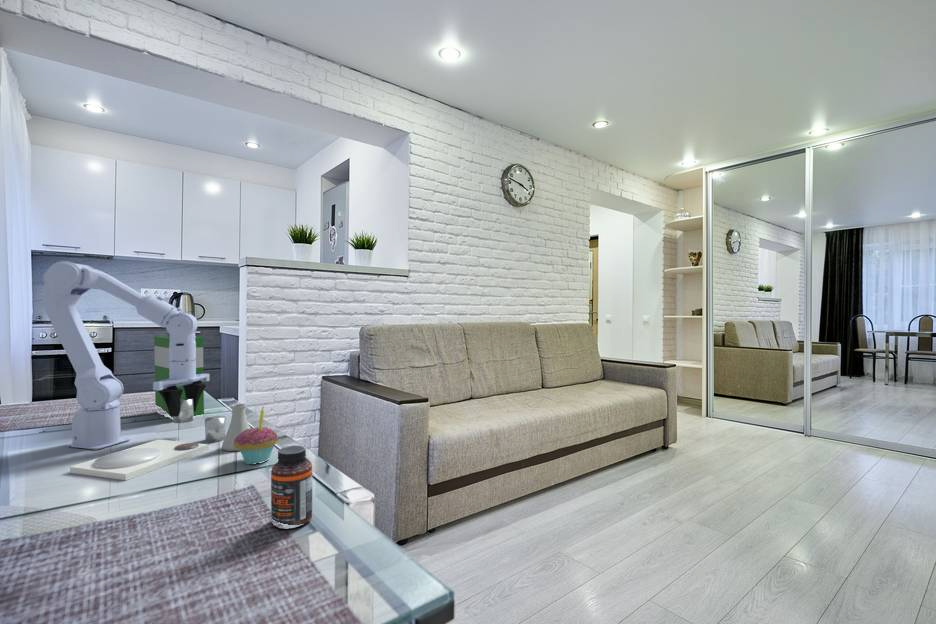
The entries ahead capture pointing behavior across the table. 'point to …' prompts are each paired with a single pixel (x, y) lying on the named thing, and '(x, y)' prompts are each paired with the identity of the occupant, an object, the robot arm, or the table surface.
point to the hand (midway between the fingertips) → (183, 413)
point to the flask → (235, 426)
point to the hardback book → (163, 369)
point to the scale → (138, 459)
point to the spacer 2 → (215, 429)
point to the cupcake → (256, 442)
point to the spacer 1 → (184, 411)
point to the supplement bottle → (291, 487)
